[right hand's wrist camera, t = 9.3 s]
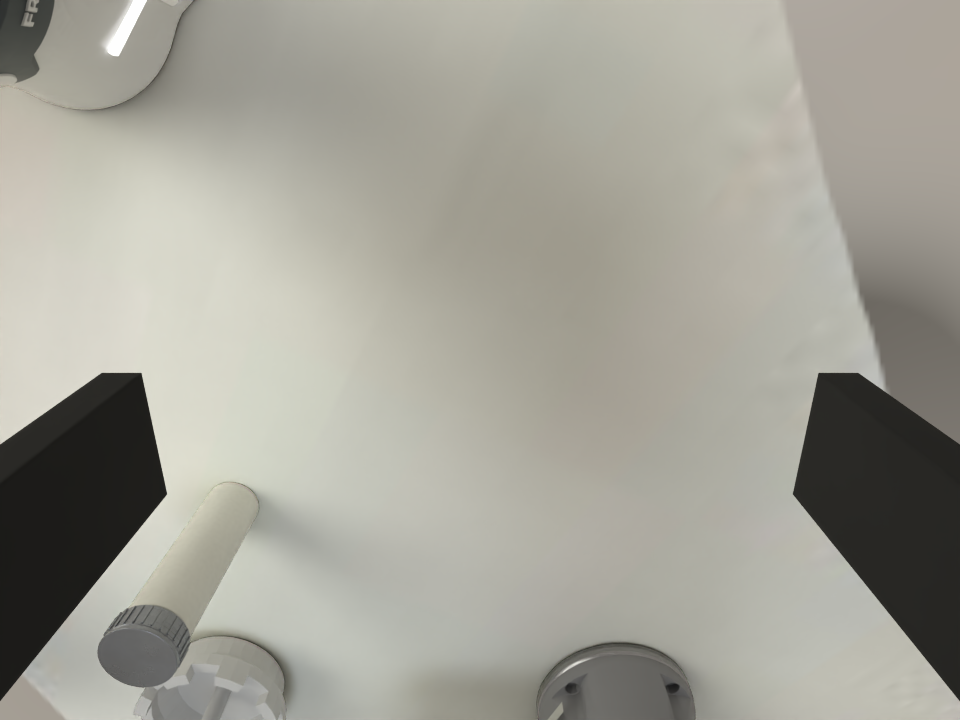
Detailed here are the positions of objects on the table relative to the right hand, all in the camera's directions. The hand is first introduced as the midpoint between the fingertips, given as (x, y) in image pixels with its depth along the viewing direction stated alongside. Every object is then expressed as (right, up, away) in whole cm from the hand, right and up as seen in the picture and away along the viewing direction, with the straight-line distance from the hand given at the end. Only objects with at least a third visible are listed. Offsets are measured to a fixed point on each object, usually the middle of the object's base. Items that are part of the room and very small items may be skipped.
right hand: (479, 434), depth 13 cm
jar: (-21, -11, +43) cm, 49 cm away
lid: (-21, -17, +28) cm, 39 cm away
